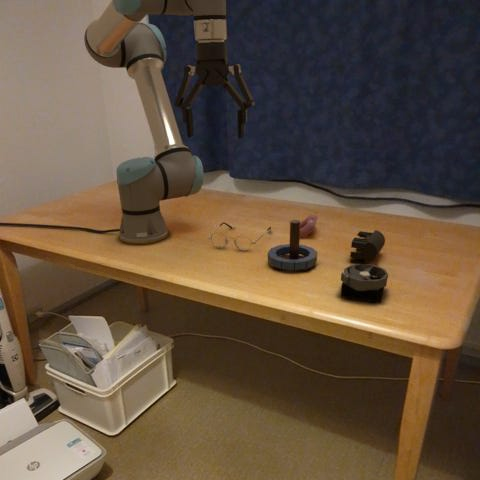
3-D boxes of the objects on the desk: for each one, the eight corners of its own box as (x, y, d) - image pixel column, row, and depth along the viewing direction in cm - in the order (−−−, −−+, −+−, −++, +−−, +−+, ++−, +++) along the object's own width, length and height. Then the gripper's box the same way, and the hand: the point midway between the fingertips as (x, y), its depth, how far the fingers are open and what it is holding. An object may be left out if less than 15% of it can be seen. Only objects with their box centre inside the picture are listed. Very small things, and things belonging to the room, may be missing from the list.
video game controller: (308, 243, 148) (319, 224, 144) (295, 236, 148) (306, 217, 144) (310, 232, 156) (321, 214, 153) (298, 226, 156) (308, 207, 152)
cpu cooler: (390, 265, 114) (385, 283, 106) (387, 287, 117) (382, 306, 109) (346, 260, 117) (338, 277, 109) (344, 281, 120) (336, 299, 112)
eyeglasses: (204, 248, 143) (203, 232, 140) (227, 228, 158) (227, 213, 155) (255, 253, 138) (255, 237, 135) (274, 232, 153) (274, 217, 150)
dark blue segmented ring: (263, 267, 127) (263, 259, 126) (274, 249, 138) (274, 242, 136) (312, 272, 123) (313, 264, 122) (319, 253, 134) (320, 246, 133)
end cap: (375, 267, 128) (378, 243, 124) (349, 263, 130) (351, 239, 127) (383, 254, 135) (386, 231, 132) (358, 250, 138) (360, 227, 135)
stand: (276, 268, 128) (277, 225, 122) (282, 257, 135) (282, 215, 129) (306, 271, 126) (308, 227, 120) (310, 259, 133) (312, 217, 127)
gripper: (155, 43, 113) (164, 138, 123) (258, 40, 107) (259, 140, 117) (168, 43, 119) (175, 133, 130) (266, 40, 113) (266, 135, 124)
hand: (215, 137), depth 124 cm, fingers open, 13 cm apart
